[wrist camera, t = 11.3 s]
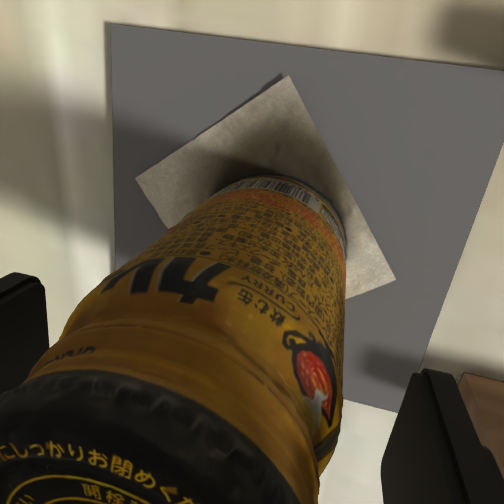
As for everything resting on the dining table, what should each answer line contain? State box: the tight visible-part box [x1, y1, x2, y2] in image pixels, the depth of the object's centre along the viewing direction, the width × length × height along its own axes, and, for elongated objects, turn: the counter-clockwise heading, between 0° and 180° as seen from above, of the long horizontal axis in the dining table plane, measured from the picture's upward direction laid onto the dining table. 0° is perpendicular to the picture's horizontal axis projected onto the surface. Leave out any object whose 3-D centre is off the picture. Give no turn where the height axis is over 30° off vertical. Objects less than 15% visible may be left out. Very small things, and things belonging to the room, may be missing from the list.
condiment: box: [0, 75, 396, 504], centre depth 10 cm, size 7×8×12 cm
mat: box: [111, 24, 504, 413], centre depth 16 cm, size 14×14×1 cm
